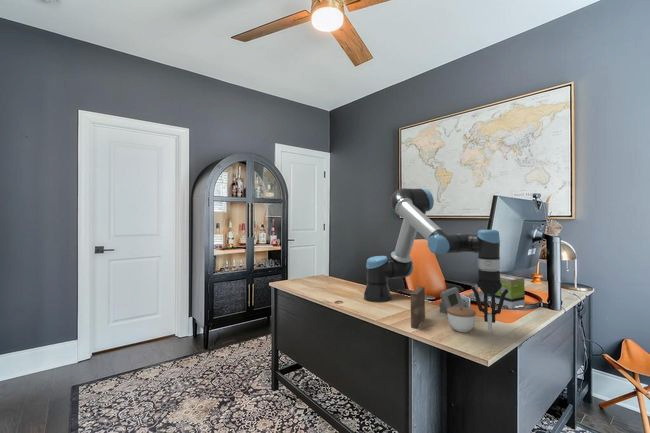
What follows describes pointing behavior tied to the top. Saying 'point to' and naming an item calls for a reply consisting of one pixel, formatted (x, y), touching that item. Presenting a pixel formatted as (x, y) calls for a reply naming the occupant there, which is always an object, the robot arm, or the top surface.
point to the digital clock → (450, 299)
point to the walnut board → (417, 306)
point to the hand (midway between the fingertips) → (489, 330)
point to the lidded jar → (461, 318)
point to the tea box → (511, 291)
